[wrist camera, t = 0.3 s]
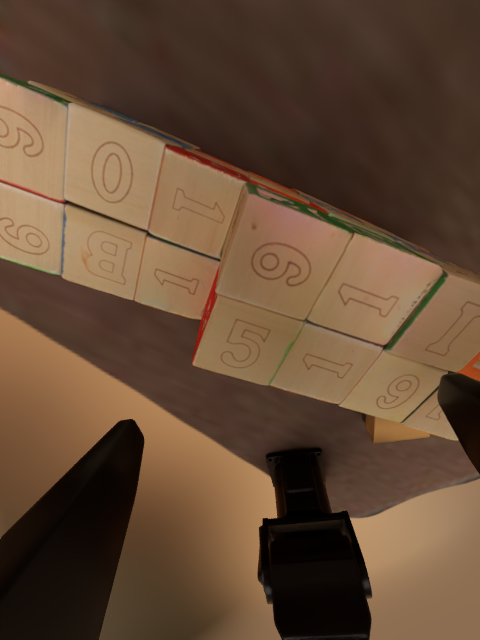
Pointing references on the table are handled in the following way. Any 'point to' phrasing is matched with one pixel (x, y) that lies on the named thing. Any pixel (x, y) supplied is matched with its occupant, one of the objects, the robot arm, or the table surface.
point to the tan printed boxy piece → (234, 259)
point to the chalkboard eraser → (389, 430)
